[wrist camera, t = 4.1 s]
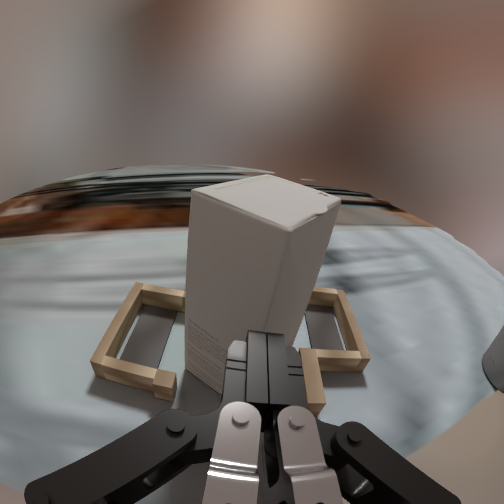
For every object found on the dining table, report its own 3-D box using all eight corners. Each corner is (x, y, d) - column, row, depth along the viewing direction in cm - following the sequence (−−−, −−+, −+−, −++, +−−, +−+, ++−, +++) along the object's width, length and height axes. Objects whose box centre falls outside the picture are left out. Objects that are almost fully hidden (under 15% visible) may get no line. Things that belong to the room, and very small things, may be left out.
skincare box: (238, 325, 28) (266, 172, 21) (294, 357, 25) (347, 198, 18) (180, 370, 21) (185, 183, 14) (242, 415, 19) (294, 224, 11)
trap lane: (327, 274, 40) (334, 250, 39) (374, 412, 19) (396, 386, 18) (165, 250, 39) (165, 224, 37) (93, 380, 18) (81, 348, 16)
